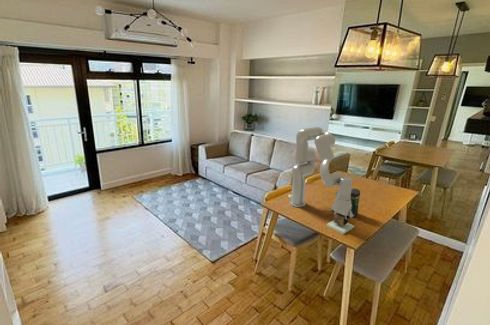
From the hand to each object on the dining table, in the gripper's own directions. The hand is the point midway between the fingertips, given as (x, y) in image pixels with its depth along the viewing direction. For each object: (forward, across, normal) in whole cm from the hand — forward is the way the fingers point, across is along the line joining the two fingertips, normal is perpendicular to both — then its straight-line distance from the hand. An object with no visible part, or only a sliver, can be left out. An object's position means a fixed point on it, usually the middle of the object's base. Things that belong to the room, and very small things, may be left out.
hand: (340, 221), depth 164 cm
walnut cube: (+1, 0, 0) cm, 1 cm away
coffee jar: (+4, -5, +21) cm, 22 cm away
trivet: (+4, 0, 0) cm, 4 cm away
